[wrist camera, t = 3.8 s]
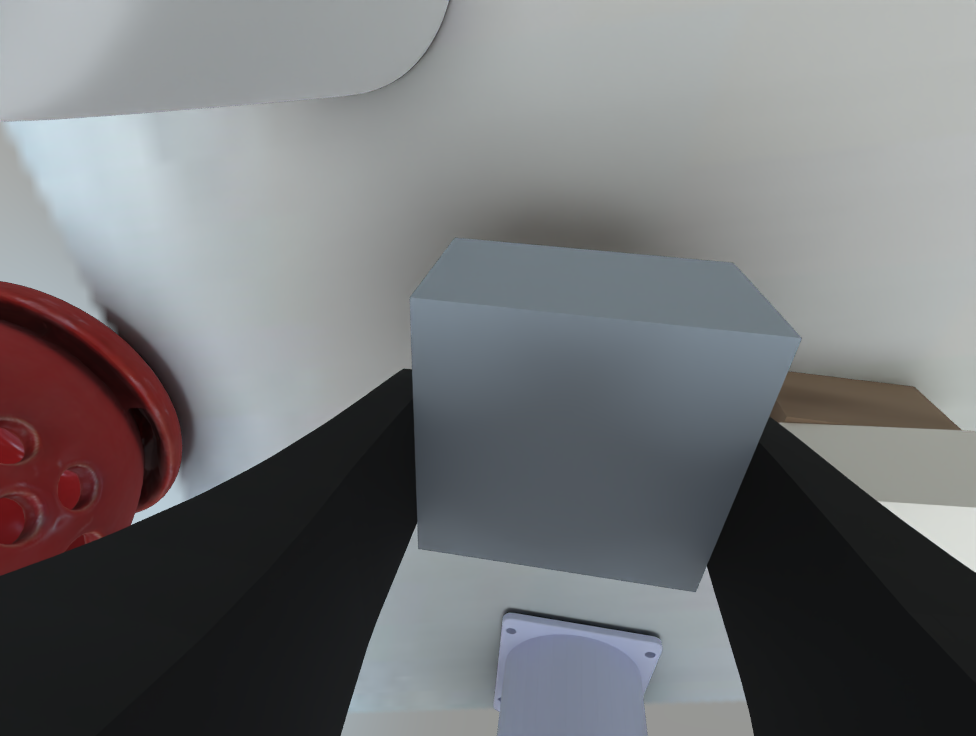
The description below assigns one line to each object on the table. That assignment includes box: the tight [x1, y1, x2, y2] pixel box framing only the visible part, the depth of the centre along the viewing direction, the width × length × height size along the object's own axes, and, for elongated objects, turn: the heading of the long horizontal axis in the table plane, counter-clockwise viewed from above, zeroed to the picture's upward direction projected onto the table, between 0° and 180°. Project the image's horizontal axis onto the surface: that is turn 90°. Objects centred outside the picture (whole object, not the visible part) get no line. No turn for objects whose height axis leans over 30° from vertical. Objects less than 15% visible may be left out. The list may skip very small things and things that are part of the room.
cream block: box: [779, 422, 976, 572], centre depth 14 cm, size 5×5×3 cm
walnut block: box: [769, 371, 961, 430], centre depth 17 cm, size 5×5×3 cm
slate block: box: [410, 238, 802, 592], centre depth 9 cm, size 5×5×3 cm
